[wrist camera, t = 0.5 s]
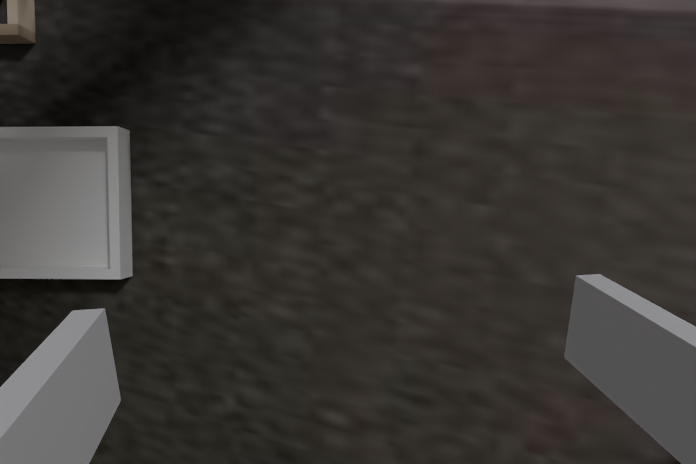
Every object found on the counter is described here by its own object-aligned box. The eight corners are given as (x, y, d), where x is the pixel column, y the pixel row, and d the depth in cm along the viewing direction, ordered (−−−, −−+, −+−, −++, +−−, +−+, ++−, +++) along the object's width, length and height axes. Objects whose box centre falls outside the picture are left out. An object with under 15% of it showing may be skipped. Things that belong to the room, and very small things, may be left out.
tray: (-12, 131, 37) (-32, 127, 35) (129, 130, 36) (117, 126, 34) (-8, 275, 37) (-27, 278, 35) (132, 276, 37) (120, 279, 35)
